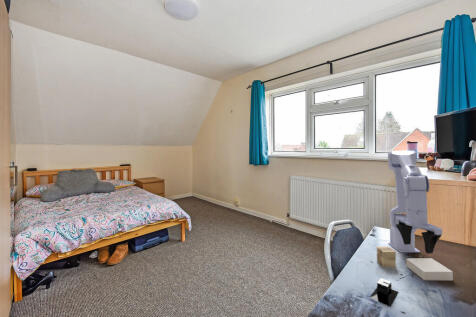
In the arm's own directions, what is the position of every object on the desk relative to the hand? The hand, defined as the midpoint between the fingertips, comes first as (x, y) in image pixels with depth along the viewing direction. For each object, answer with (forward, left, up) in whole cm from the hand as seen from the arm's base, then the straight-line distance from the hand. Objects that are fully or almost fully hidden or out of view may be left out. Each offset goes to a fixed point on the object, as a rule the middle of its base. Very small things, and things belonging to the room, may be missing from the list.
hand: (417, 248), depth 75 cm
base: (-2, +5, -10) cm, 12 cm away
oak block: (-8, -6, -10) cm, 15 cm away
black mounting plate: (+10, -17, -11) cm, 22 cm away
